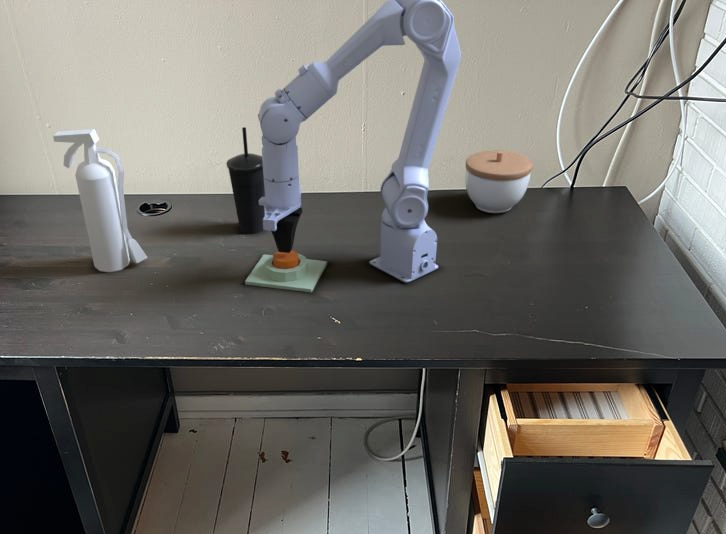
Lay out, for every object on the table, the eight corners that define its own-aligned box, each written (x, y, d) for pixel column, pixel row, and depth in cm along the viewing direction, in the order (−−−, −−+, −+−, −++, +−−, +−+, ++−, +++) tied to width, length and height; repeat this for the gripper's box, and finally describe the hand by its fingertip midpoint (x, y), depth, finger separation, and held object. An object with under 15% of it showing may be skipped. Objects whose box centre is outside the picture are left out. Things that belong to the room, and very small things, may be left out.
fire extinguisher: (141, 276, 131) (115, 138, 117) (79, 271, 134) (46, 136, 119) (154, 258, 137) (131, 124, 122) (94, 253, 139) (65, 122, 124)
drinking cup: (273, 220, 147) (267, 120, 135) (269, 237, 141) (262, 134, 129) (236, 220, 148) (226, 121, 136) (230, 237, 142) (219, 135, 130)
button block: (326, 264, 132) (326, 252, 130) (311, 292, 124) (311, 279, 122) (263, 257, 135) (262, 245, 133) (245, 284, 127) (243, 272, 126)
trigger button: (301, 259, 129) (301, 250, 128) (294, 271, 126) (294, 262, 125) (278, 256, 130) (277, 248, 129) (270, 268, 127) (269, 260, 126)
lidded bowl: (537, 213, 144) (547, 159, 137) (478, 222, 142) (484, 168, 135) (507, 189, 154) (515, 137, 147) (451, 197, 152) (456, 145, 145)
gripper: (271, 157, 125) (276, 229, 133) (242, 191, 114) (249, 268, 122) (311, 160, 123) (313, 233, 131) (285, 195, 112) (289, 272, 120)
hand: (285, 250), depth 127 cm, fingers closed
